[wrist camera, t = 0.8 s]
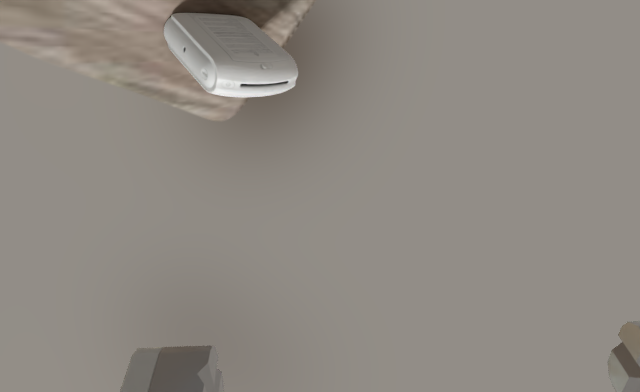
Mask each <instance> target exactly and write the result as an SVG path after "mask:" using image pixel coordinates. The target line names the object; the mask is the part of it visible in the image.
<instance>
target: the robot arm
mask: <svg viewBox="0 0 640 392" xmlns="http://www.w3.org/2000/svg"><path fill="white" fill-rule="evenodd" d="M618 336H619V337H620V339H621V340H622V343H621V344H619V345H618V346H617V347H615V348H614V349H613V350H612V351H611V354H610V357H609V359H608V371H609V377H610V380H611V382H612V385H613V387H614V389H615V390H616V392H640V321H634V322H627V323H626V324H624V325H623V326H622V328H621V330H620V332H619V334H618ZM217 362H218V355H217V351H216V347H215V346H184V347H157V348H138V349H137V350H136V351H135V352H134V354H133V355H132V357H131V360H130V363H129V366H128V369H127V372H126V375H125V378H124V381H123V384H122V387H121V389H120V392H224V384H223V376H222V372H221V371H220V370H218V369H217Z"/></svg>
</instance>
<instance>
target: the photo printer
mask: <svg viewBox="0 0 640 392" xmlns="http://www.w3.org/2000/svg"><path fill="white" fill-rule="evenodd" d="M164 36H165V39H166V41H167V42H168V47H169V49H170V50H171V51H172V52H173V54H174V55H175V56H176V57H177V58H178V60H179V61H180V62H181V63H182V64H183V65H184V66H185V68H186V69H187V70H188V71H189V72H190V73H191V74H192V76H193V77H194V78H195V79H196V80H197V81H198V83H199V84H200V85H201V86H202V87H203V88H204V89H205V90H206V91H207V92H209V93H212V94H216V95H220V96H228V97H261V96H268V95H274V94H278V93H282V92H285V91H287V90H289V89H291V88H293V87H294V86H295V81H296V78H297V77H298V69H297V65H296V62H295V61H294V59H293V57H292V56H291V55H290V54H288V53H287V52H286V51H285V50H284V49H283V48H282V47H280V46H279V45H278V44H277V43H276V42H275V41H274V40H272V39H271V38H270V37H269V36H268V35H267V34H266V33H265V32H263V31H262V30H261V29H260V28H259V27H258V26H257V25H256V24H255V23H253V22H252V21H251V20H250V19H248V18H245V17H241V16H234V15H222V14H205V13H175V14H172V15H171V17H170V18H169V19H168V20H167V22H166V24H165V26H164Z"/></svg>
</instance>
